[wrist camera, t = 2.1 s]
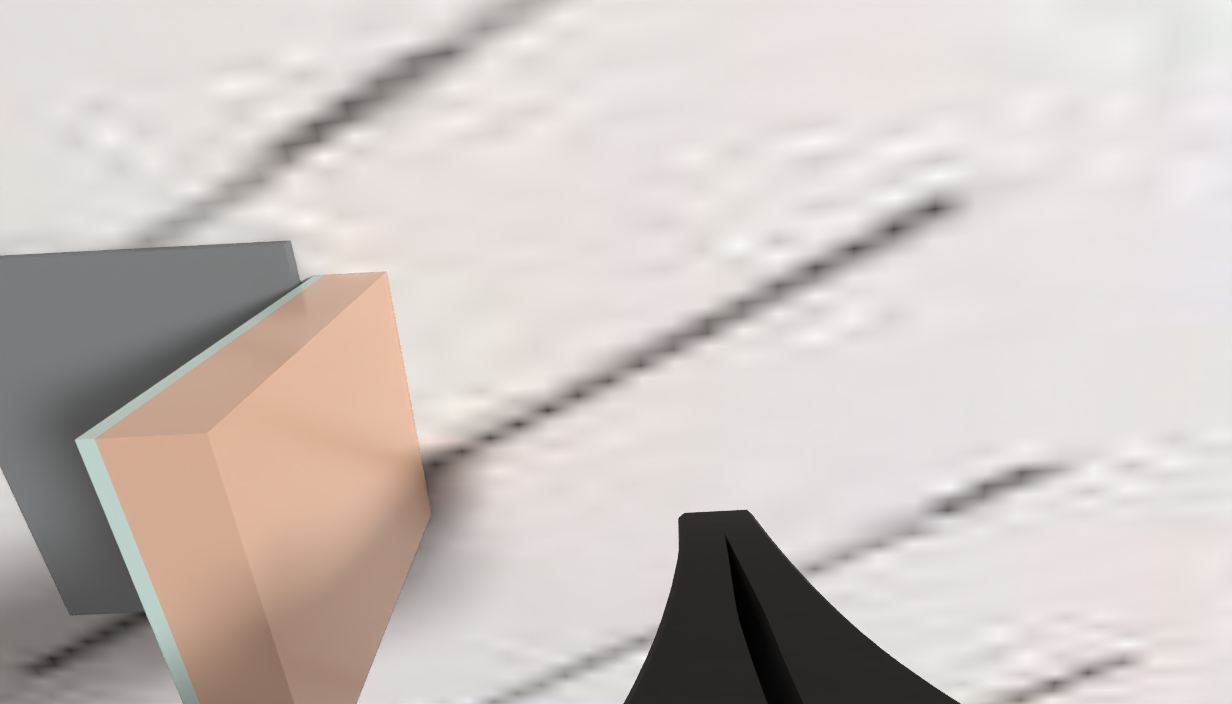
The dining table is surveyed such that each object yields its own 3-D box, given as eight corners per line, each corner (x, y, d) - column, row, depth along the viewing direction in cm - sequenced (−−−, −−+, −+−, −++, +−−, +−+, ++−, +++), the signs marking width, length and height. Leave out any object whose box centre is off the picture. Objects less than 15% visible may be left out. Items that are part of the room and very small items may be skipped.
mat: (374, 591, 23) (370, 600, 22) (78, 606, 23) (70, 615, 22) (290, 240, 18) (283, 244, 18) (-81, 260, 18) (-95, 264, 18)
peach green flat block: (431, 513, 21) (322, 790, 13) (369, 516, 21) (220, 795, 13) (386, 271, 18) (206, 433, 10) (314, 275, 18) (74, 440, 10)
